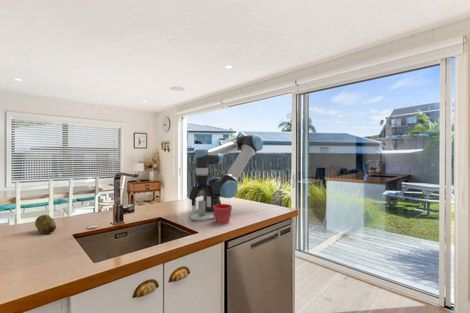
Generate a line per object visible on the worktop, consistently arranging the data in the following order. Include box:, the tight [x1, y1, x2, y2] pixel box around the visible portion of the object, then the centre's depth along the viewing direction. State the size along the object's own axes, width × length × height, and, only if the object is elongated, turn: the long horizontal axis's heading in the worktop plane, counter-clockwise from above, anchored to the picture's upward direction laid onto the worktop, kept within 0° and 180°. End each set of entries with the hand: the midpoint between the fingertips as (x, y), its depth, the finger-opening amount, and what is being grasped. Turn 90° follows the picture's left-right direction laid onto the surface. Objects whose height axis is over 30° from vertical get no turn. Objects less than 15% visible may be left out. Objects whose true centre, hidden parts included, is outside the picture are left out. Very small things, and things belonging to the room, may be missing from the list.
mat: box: [188, 215, 216, 222], centre depth 156 cm, size 14×14×1 cm
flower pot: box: [213, 203, 233, 225], centre depth 147 cm, size 11×11×10 cm
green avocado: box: [34, 214, 57, 234], centre depth 128 cm, size 8×13×8 cm, turn 39°
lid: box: [189, 200, 214, 222], centre depth 156 cm, size 14×14×10 cm
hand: (201, 208), depth 155 cm, fingers open, 13 cm apart
